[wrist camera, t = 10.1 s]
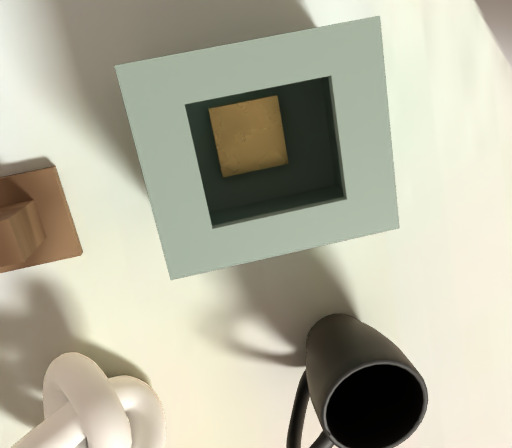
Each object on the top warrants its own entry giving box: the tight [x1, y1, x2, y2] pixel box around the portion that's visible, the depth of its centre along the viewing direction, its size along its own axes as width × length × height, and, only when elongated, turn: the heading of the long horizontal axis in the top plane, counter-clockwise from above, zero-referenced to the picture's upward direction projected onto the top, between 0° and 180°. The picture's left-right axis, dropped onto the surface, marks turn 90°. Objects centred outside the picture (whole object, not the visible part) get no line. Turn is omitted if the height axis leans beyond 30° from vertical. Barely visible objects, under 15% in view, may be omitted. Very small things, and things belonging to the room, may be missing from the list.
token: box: [208, 95, 289, 177], centre depth 35 cm, size 5×5×2 cm
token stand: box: [0, 166, 83, 273], centre depth 33 cm, size 7×7×6 cm
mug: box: [286, 314, 428, 448], centre depth 39 cm, size 8×12×10 cm
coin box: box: [114, 16, 399, 280], centre depth 31 cm, size 14×12×11 cm
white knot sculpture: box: [11, 352, 166, 448], centre depth 37 cm, size 11×12×9 cm
